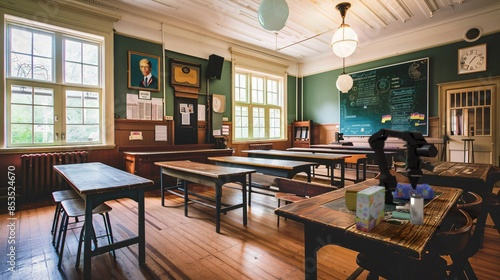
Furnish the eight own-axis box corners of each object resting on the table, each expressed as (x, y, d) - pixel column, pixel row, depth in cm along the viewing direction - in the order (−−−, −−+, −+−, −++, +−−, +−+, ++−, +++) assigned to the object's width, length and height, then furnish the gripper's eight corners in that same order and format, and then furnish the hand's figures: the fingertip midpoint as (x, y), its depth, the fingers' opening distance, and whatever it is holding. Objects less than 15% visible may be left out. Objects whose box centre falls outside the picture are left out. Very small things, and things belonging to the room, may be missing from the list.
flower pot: (363, 208, 128) (363, 191, 128) (363, 212, 120) (363, 194, 120) (345, 206, 131) (345, 189, 131) (344, 210, 123) (344, 192, 123)
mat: (392, 217, 113) (392, 216, 113) (392, 212, 120) (392, 211, 120) (412, 220, 109) (412, 219, 109) (411, 215, 116) (411, 214, 116)
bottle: (410, 223, 105) (410, 194, 105) (409, 220, 109) (410, 192, 109) (423, 225, 103) (424, 196, 102) (422, 222, 107) (422, 194, 106)
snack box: (370, 233, 95) (370, 194, 95) (355, 229, 99) (355, 192, 99) (385, 219, 110) (385, 186, 110) (371, 216, 114) (372, 184, 114)
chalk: (397, 209, 126) (397, 206, 126) (396, 208, 127) (396, 205, 127) (411, 210, 125) (411, 207, 125) (410, 209, 126) (410, 206, 126)
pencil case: (395, 199, 145) (395, 183, 145) (389, 196, 154) (389, 181, 153) (435, 201, 142) (436, 185, 142) (427, 197, 150) (427, 182, 150)
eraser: (406, 208, 128) (406, 204, 128) (405, 207, 130) (405, 203, 130) (417, 209, 126) (417, 205, 126) (416, 208, 129) (416, 204, 129)
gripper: (436, 158, 109) (436, 193, 109) (430, 155, 125) (430, 186, 125) (407, 157, 115) (407, 190, 115) (405, 155, 131) (405, 184, 131)
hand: (413, 187), depth 121 cm, fingers open, 9 cm apart
